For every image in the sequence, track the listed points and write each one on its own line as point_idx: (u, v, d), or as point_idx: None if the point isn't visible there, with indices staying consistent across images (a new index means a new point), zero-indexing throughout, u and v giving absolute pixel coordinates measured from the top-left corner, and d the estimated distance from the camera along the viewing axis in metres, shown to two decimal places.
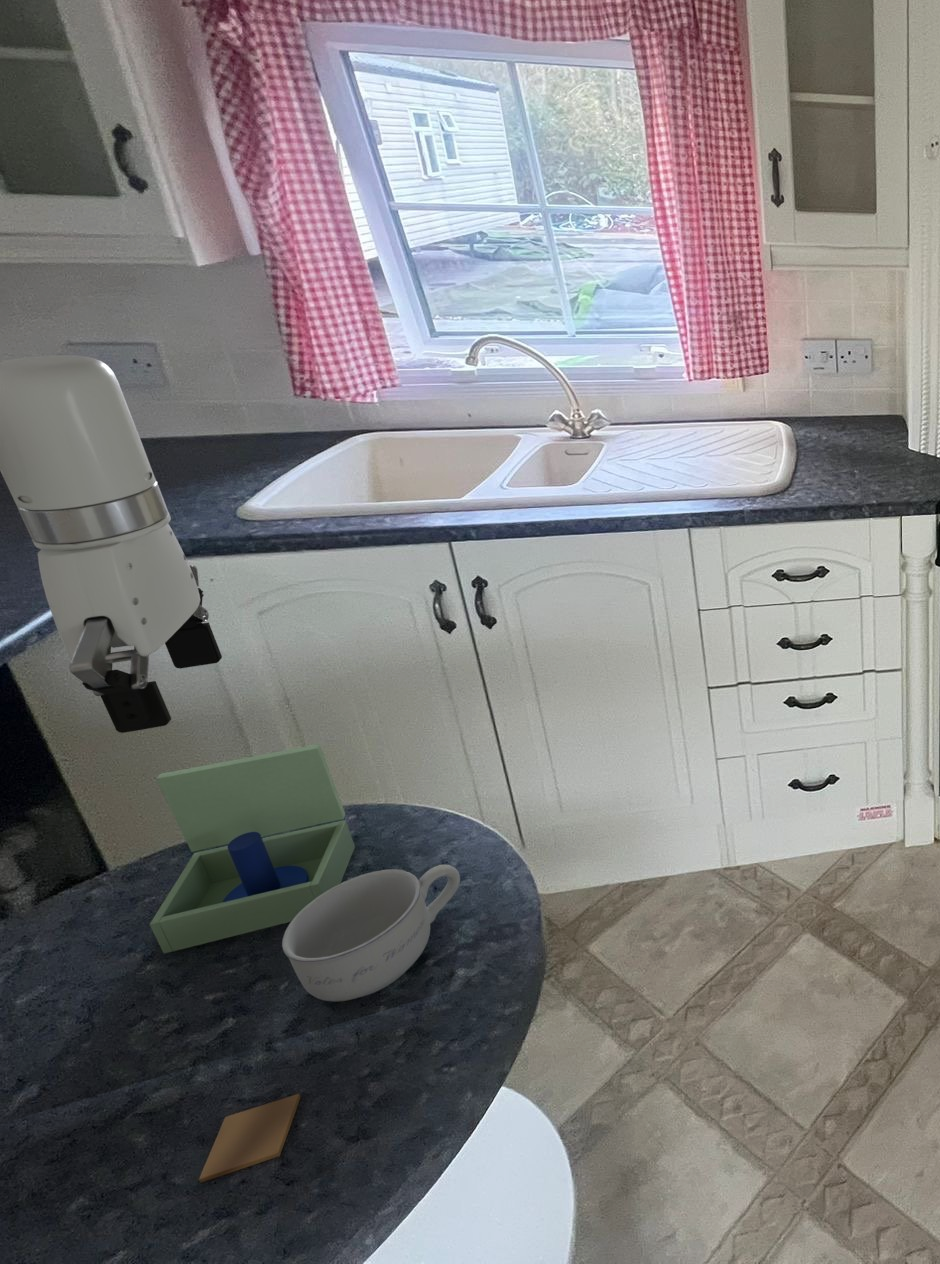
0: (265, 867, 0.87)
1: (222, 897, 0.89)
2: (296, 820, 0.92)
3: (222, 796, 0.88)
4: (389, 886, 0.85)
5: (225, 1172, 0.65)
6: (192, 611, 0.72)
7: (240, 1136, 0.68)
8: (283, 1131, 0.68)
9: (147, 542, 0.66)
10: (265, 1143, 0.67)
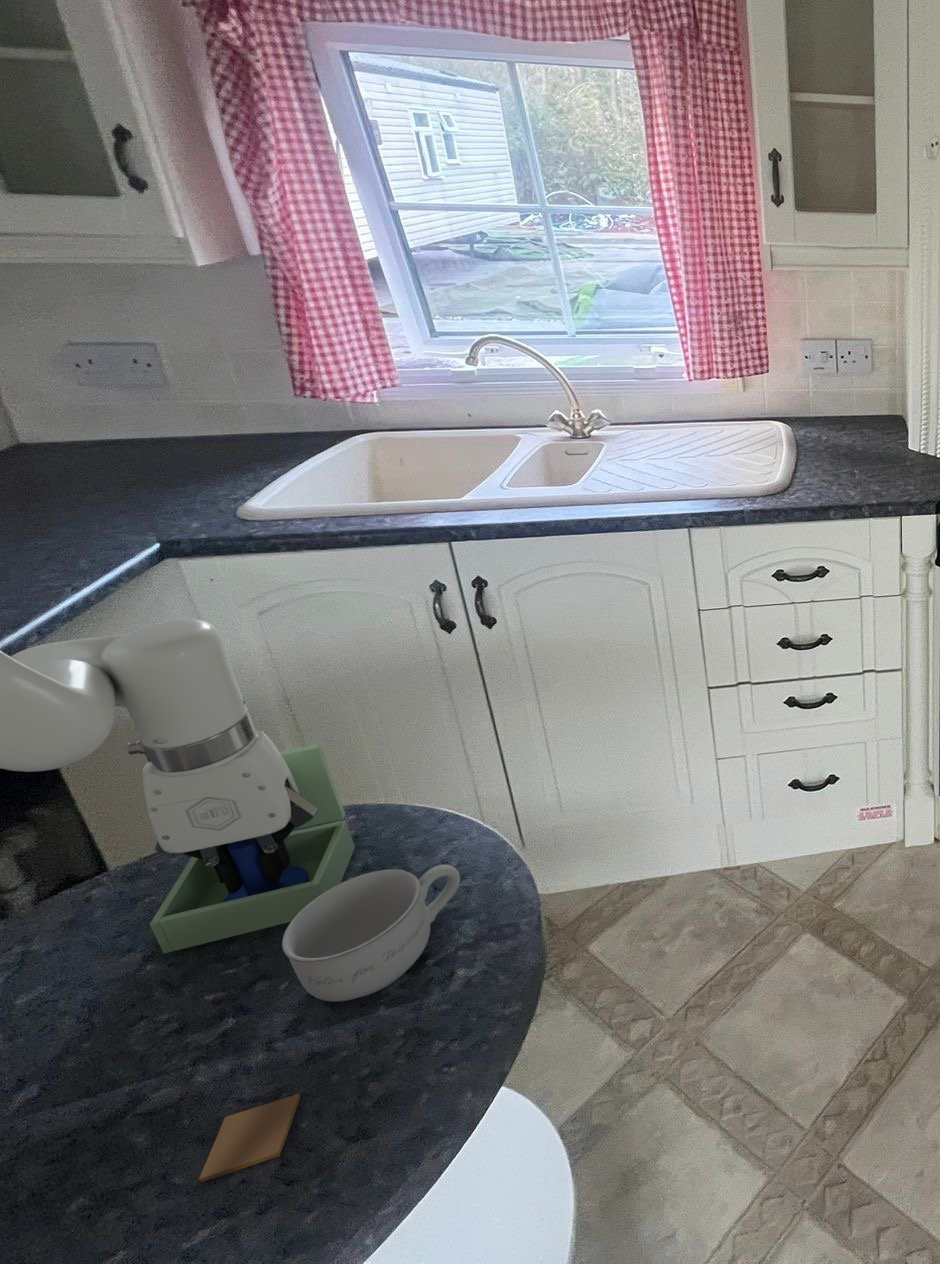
0: None
1: (222, 897, 0.89)
2: None
3: None
4: (389, 886, 0.85)
5: (225, 1172, 0.65)
6: None
7: (240, 1136, 0.68)
8: (283, 1131, 0.68)
9: None
10: (265, 1143, 0.67)
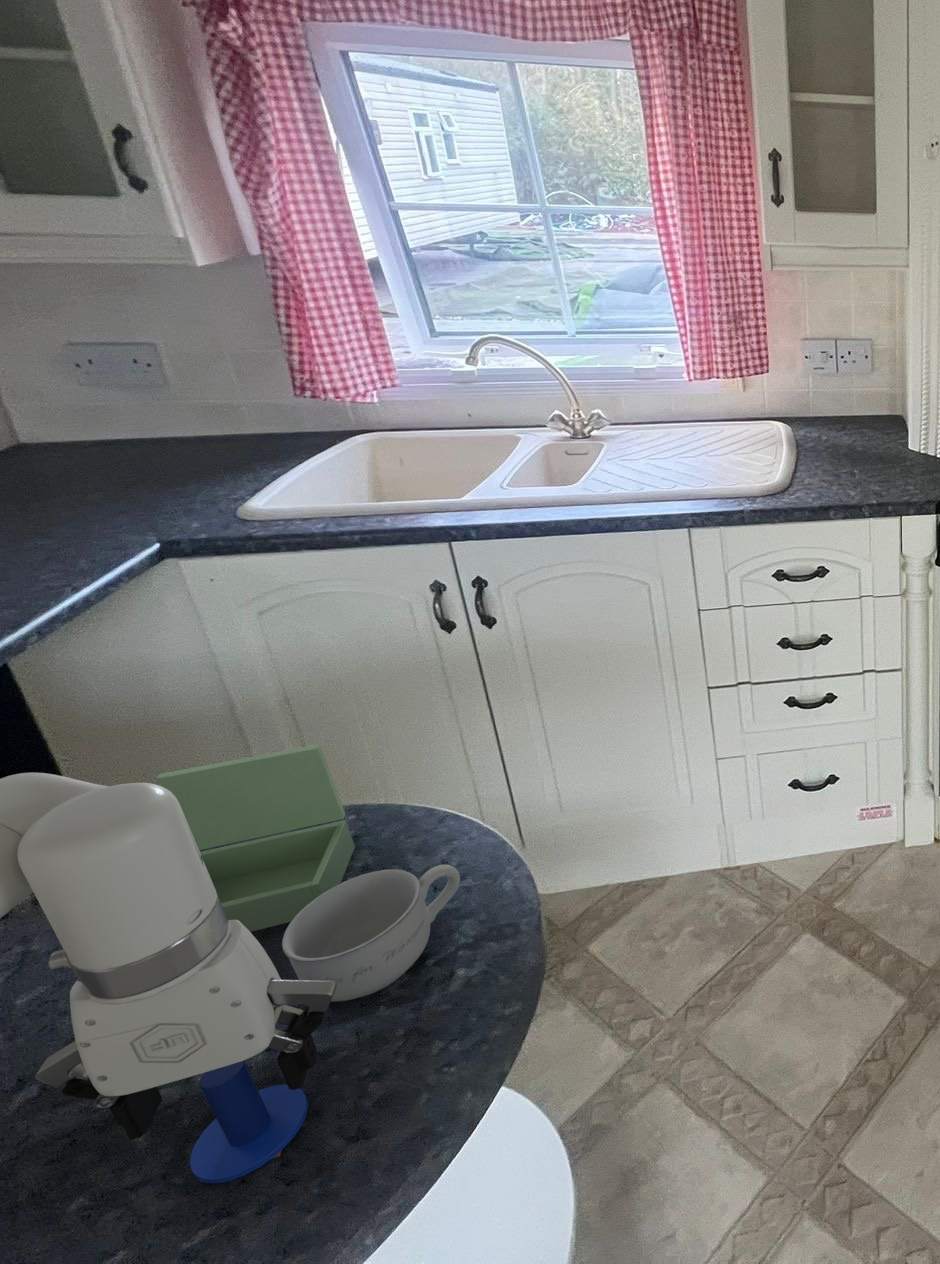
0: (250, 1101, 0.66)
1: (222, 897, 0.89)
2: (296, 820, 0.92)
3: (222, 796, 0.88)
4: (389, 886, 0.85)
5: None
6: None
7: None
8: None
9: None
10: None
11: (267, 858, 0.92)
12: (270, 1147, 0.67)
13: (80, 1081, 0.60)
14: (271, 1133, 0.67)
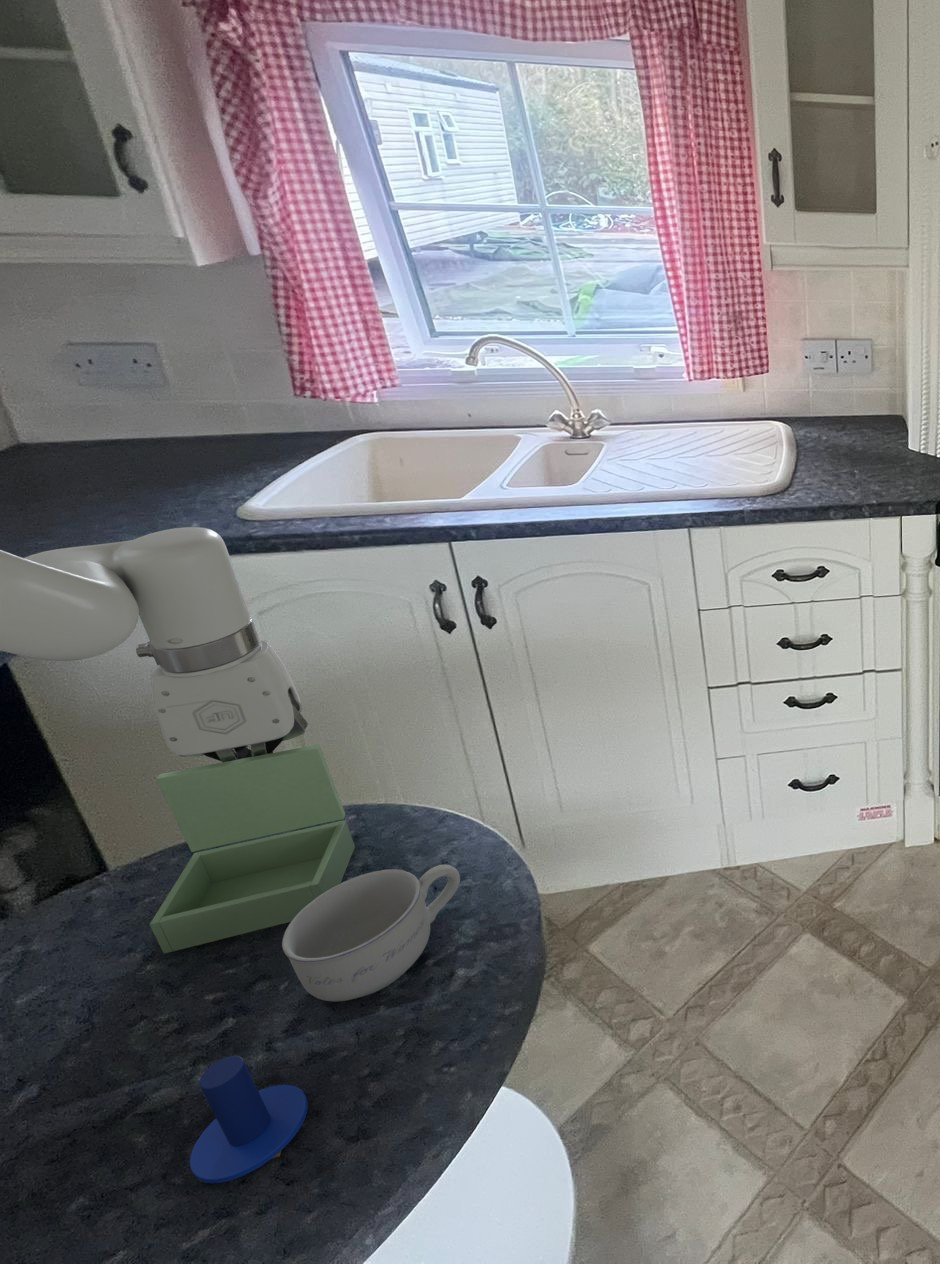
0: (250, 1101, 0.66)
1: (222, 897, 0.89)
2: (296, 820, 0.92)
3: (222, 796, 0.88)
4: (389, 886, 0.85)
5: None
6: None
7: None
8: None
9: None
10: None
11: (267, 858, 0.92)
12: (270, 1147, 0.67)
13: None
14: (271, 1133, 0.67)
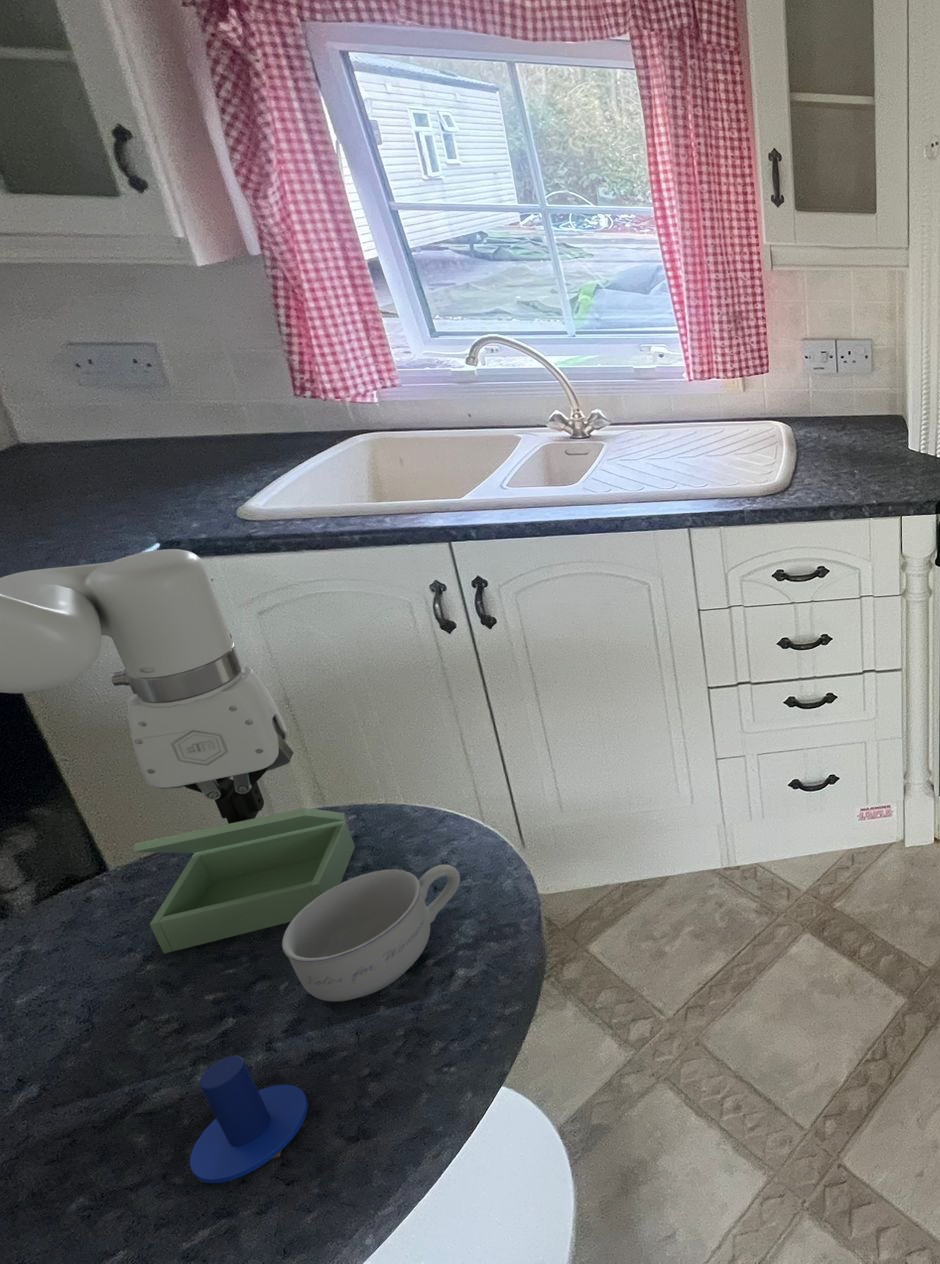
0: (250, 1101, 0.66)
1: (222, 897, 0.89)
2: (295, 829, 0.91)
3: (211, 840, 0.85)
4: (389, 886, 0.85)
5: None
6: None
7: None
8: None
9: None
10: None
11: (267, 858, 0.92)
12: (270, 1147, 0.67)
13: None
14: (271, 1133, 0.67)
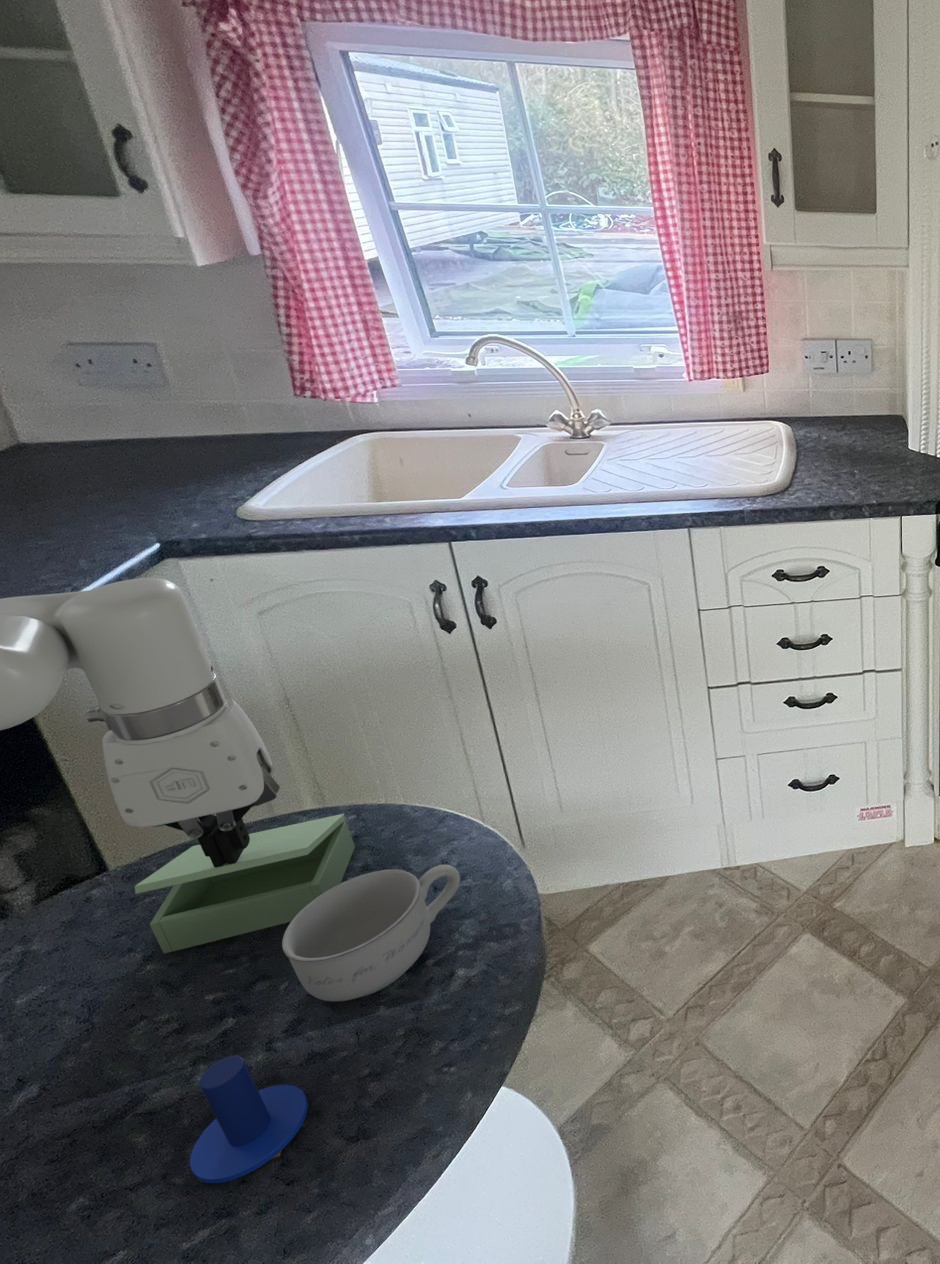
0: (250, 1101, 0.66)
1: (222, 897, 0.89)
2: None
3: None
4: (389, 886, 0.85)
5: None
6: None
7: None
8: None
9: None
10: None
11: None
12: (270, 1147, 0.67)
13: None
14: (271, 1133, 0.67)
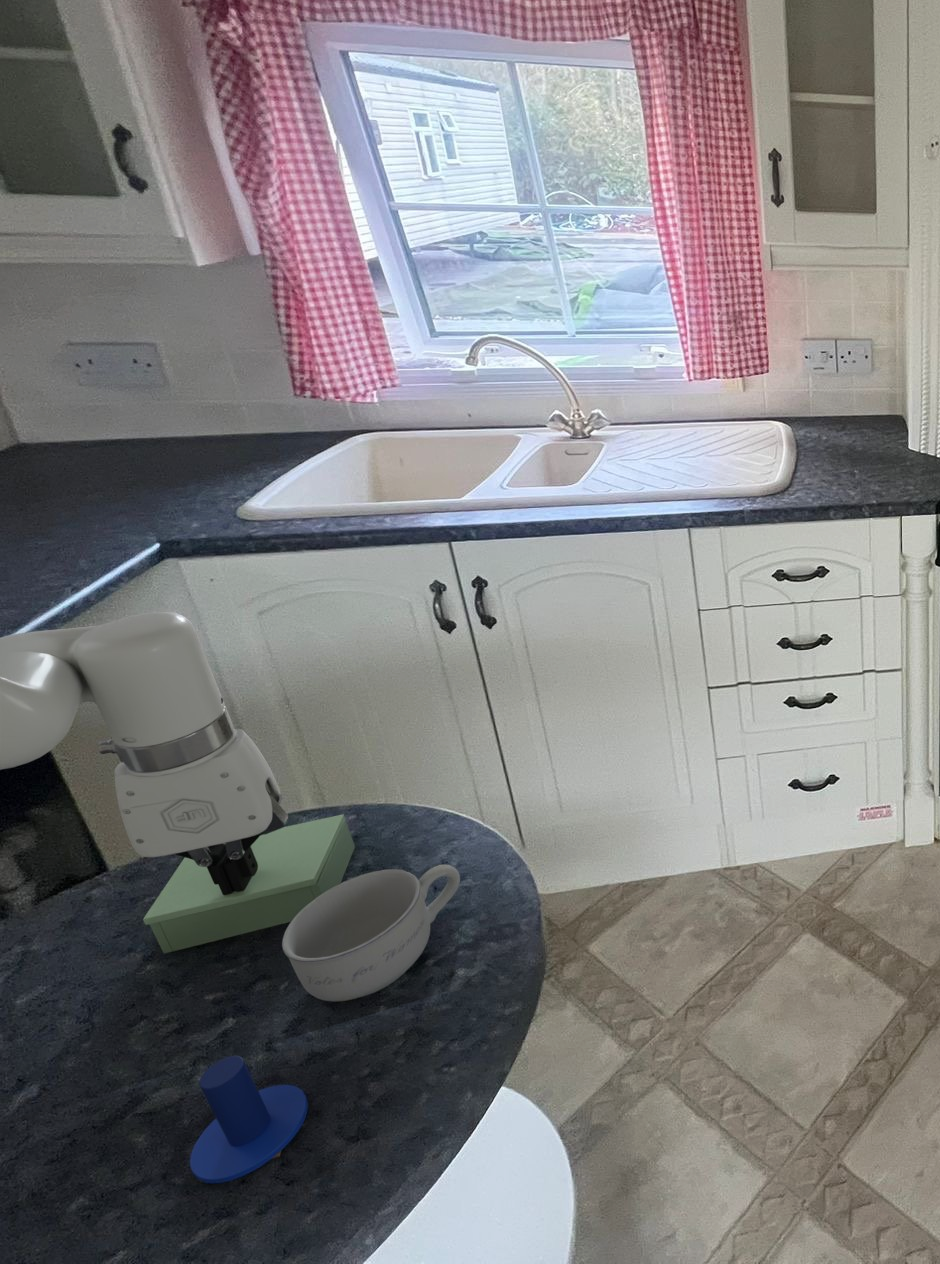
0: (250, 1101, 0.66)
1: None
2: None
3: None
4: (389, 886, 0.85)
5: None
6: None
7: None
8: None
9: None
10: None
11: None
12: (270, 1147, 0.67)
13: None
14: (271, 1133, 0.67)
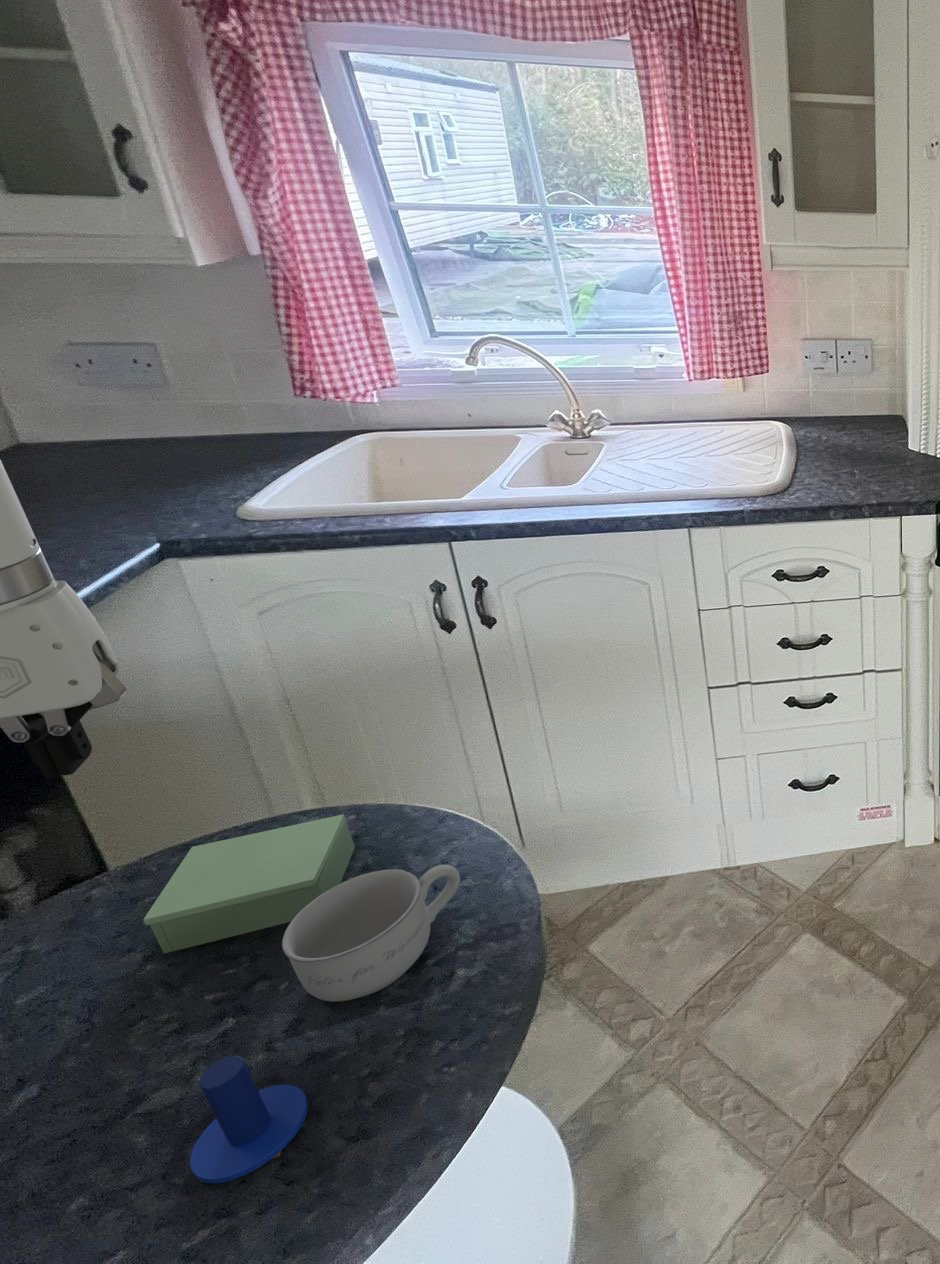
0: (250, 1101, 0.66)
1: None
2: None
3: None
4: (389, 886, 0.85)
5: None
6: None
7: None
8: None
9: None
10: None
11: None
12: (270, 1147, 0.67)
13: None
14: (271, 1133, 0.67)
